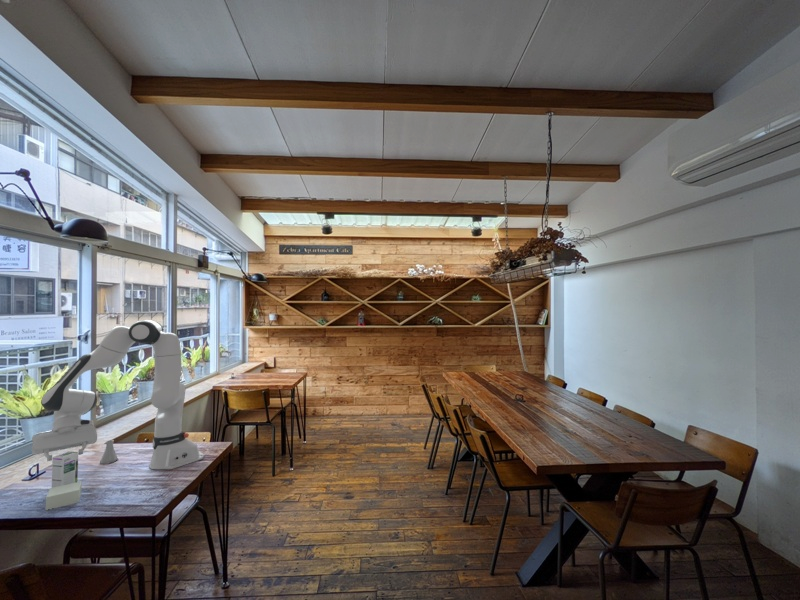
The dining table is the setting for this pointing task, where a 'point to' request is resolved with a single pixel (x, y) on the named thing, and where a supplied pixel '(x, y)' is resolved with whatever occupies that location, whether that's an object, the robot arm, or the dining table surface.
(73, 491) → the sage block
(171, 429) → the robot arm
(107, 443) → the flask
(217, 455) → the dining table surface
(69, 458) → the syrup box
